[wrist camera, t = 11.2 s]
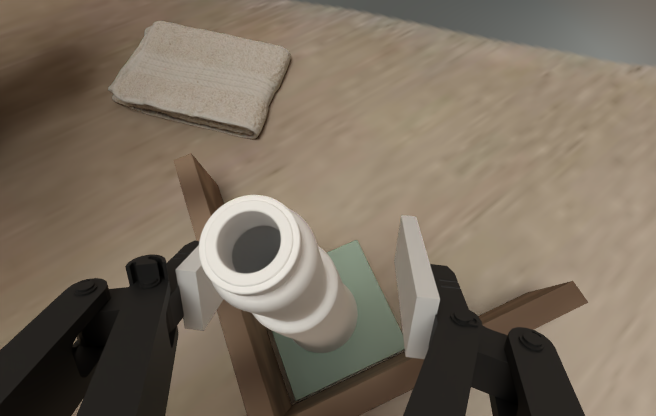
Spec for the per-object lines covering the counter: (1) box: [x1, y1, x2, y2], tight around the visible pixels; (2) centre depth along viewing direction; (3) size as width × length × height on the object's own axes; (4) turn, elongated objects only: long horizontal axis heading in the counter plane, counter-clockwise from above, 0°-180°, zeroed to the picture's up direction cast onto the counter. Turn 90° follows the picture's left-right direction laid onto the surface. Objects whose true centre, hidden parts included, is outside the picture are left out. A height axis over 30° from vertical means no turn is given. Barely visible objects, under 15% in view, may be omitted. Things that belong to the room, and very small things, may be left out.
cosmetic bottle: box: [199, 195, 358, 353], centre depth 17 cm, size 6×6×22 cm
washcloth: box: [108, 21, 291, 139], centre depth 37 cm, size 12×18×3 cm, turn 74°
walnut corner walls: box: [174, 154, 588, 416], centre depth 27 cm, size 22×22×6 cm
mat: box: [272, 240, 405, 401], centre depth 28 cm, size 10×10×1 cm
